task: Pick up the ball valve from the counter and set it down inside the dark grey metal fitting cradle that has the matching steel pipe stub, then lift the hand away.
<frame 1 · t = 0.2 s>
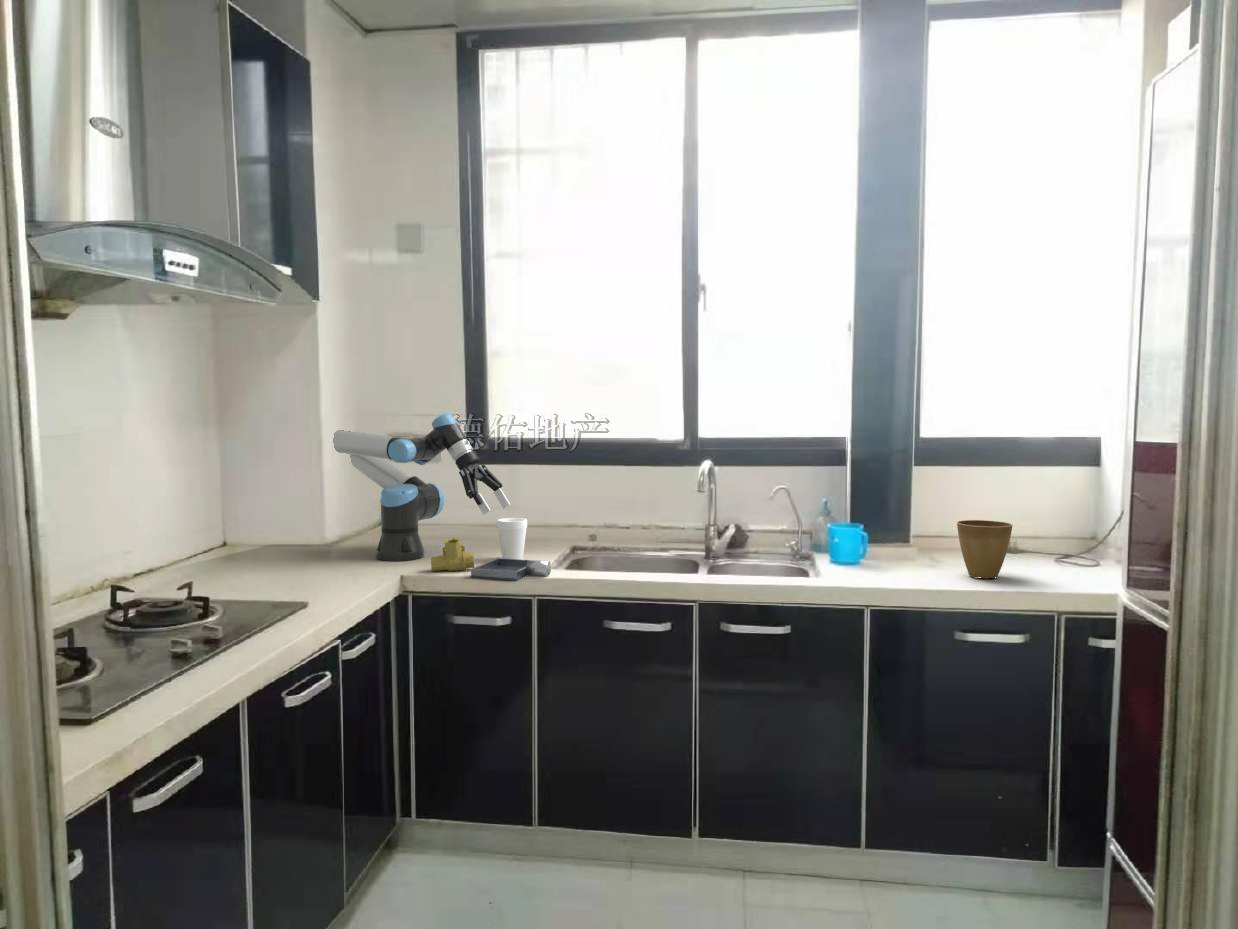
hand: (497, 509, 277), 15 cm above the worktop, tool tilted 35°, fingers open, 13 cm apart
ball valve: (453, 570, 255), on the worktop
foam cup: (512, 560, 270), on the worktop
plant pot: (982, 577, 245), on the worktop
fitting cradle: (506, 573, 249), on the worktop
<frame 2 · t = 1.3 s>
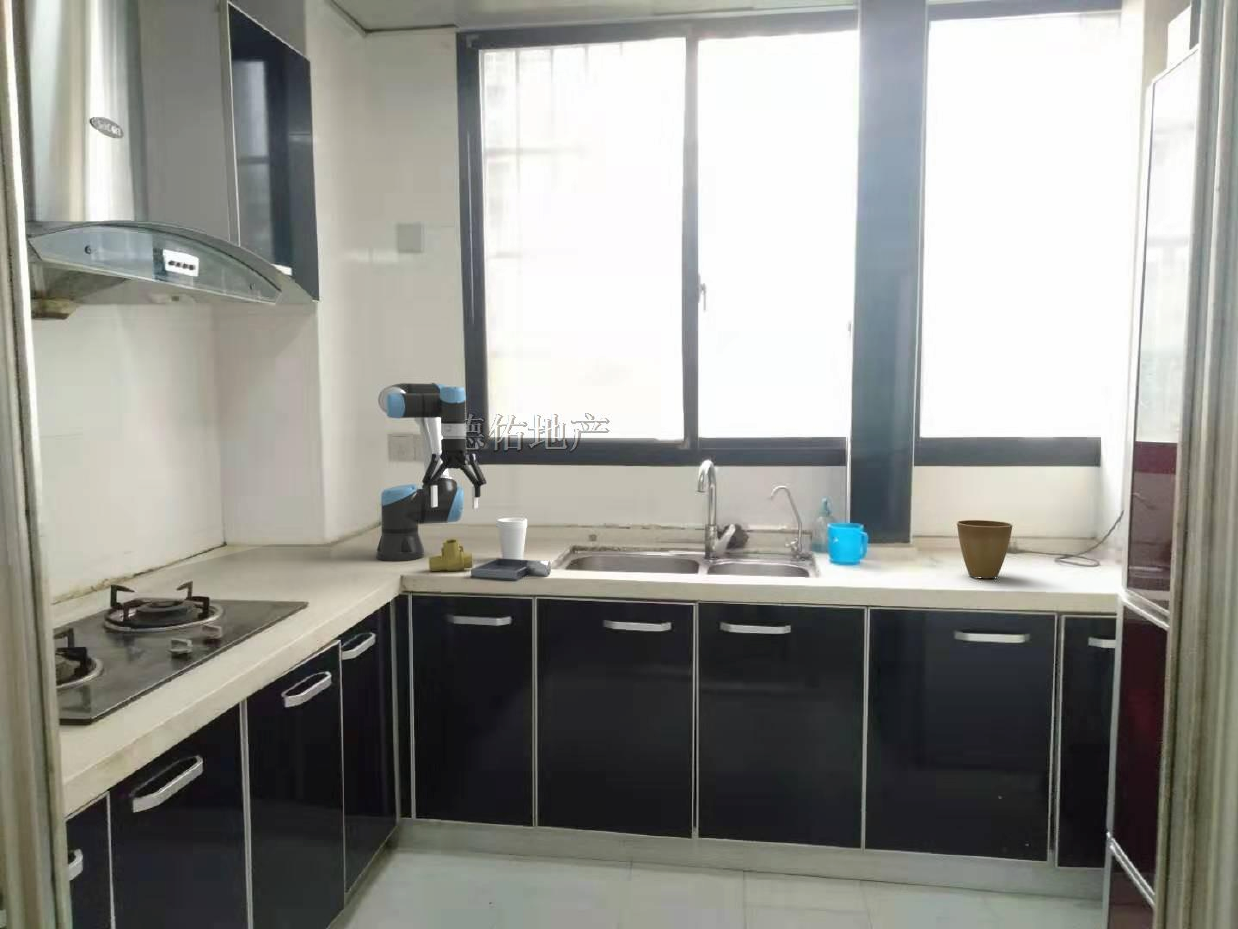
hand: (454, 507, 254), 19 cm above the worktop, tool pointing down, fingers open, 13 cm apart
nothing on the worktop moved.
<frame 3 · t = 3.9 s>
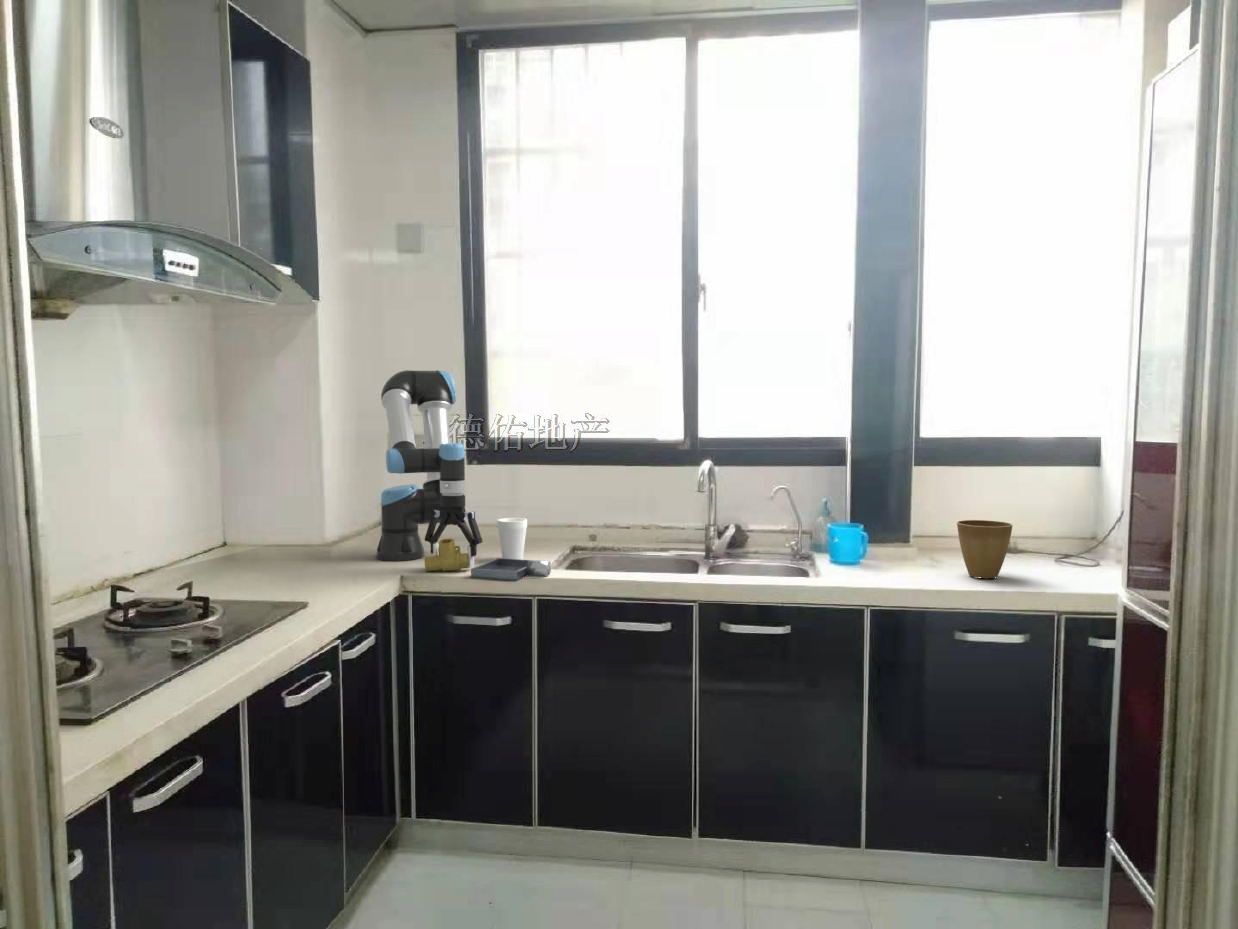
hand: (453, 565, 255), 1 cm above the worktop, tool pointing down, fingers closed on ball valve, 11 cm apart
ball valve: (447, 570, 254), on the worktop, touching gripper
everything else where it was.
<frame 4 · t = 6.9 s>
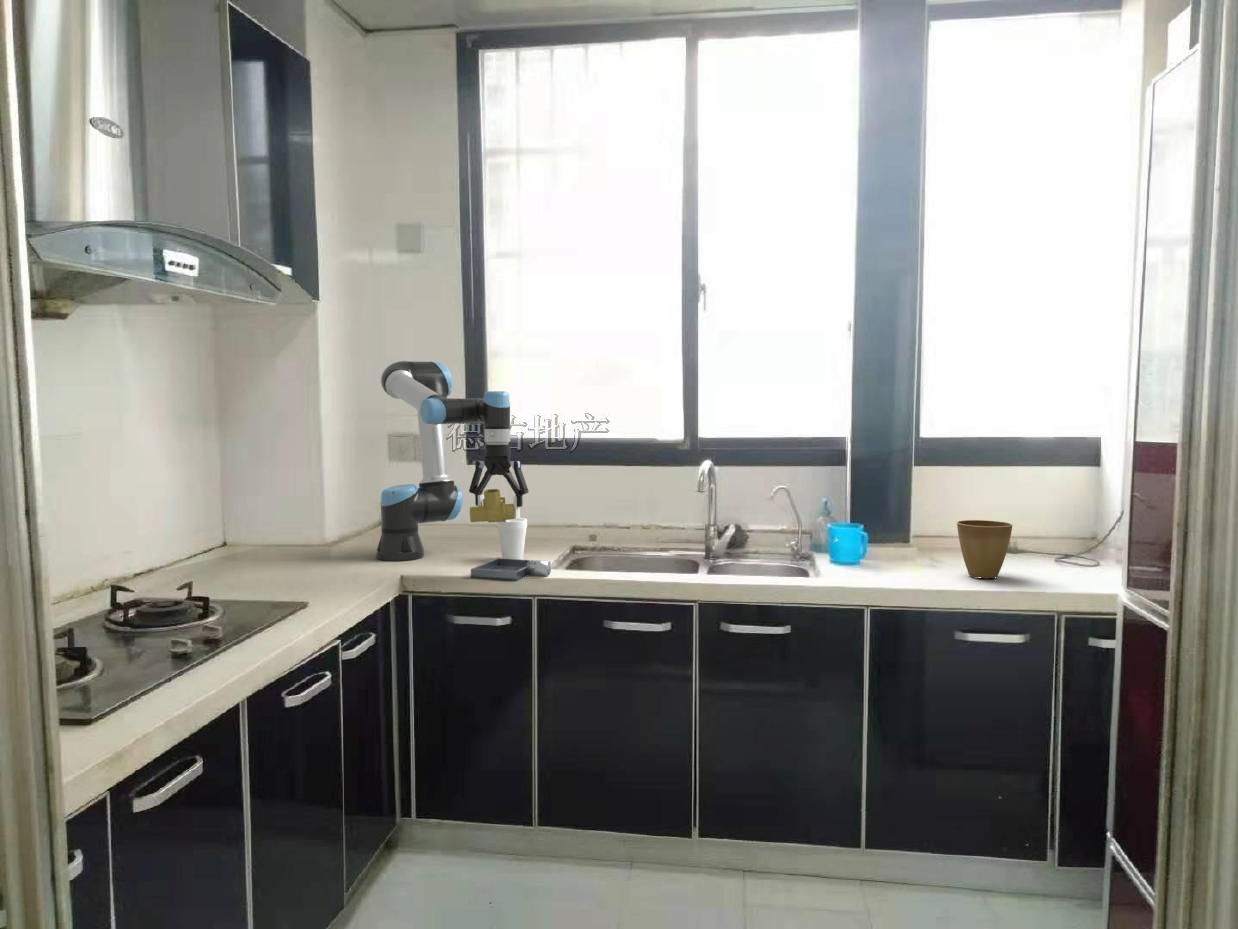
hand: (499, 517, 248), 17 cm above the worktop, tool pointing down, fingers closed on ball valve, 11 cm apart
ball valve: (492, 522, 247), point 15 cm above the worktop, touching gripper
everything else where it was.
when the fingers open (4 cm above the worktop, at t = 9.8 s): ball valve stays where it is, resting on fitting cradle.
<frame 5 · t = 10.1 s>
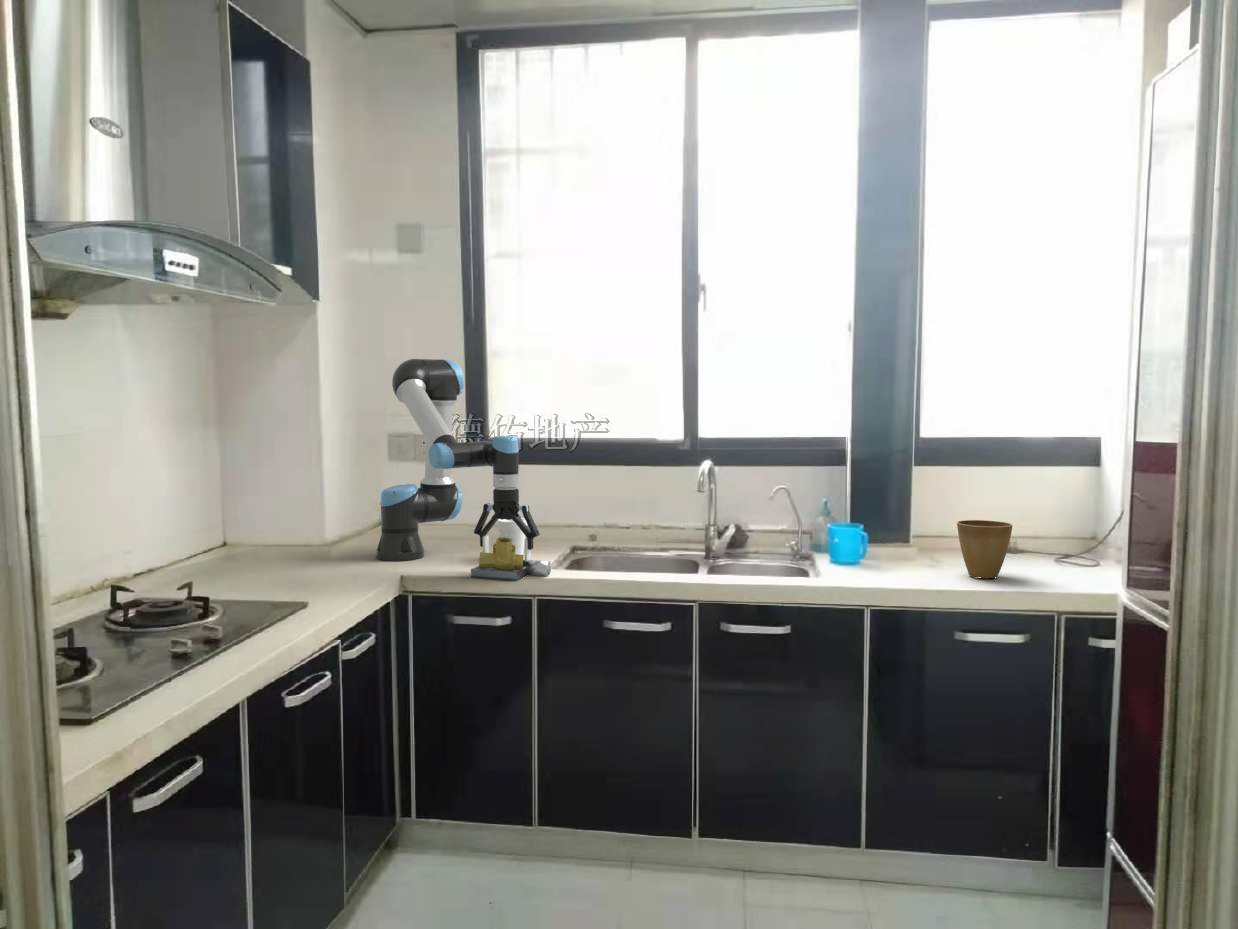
hand: (506, 559, 249), 4 cm above the worktop, tool pointing down, fingers open, 13 cm apart
ball valve: (500, 569, 248), point 1 cm above the worktop, touching fitting cradle
everything else where it was.
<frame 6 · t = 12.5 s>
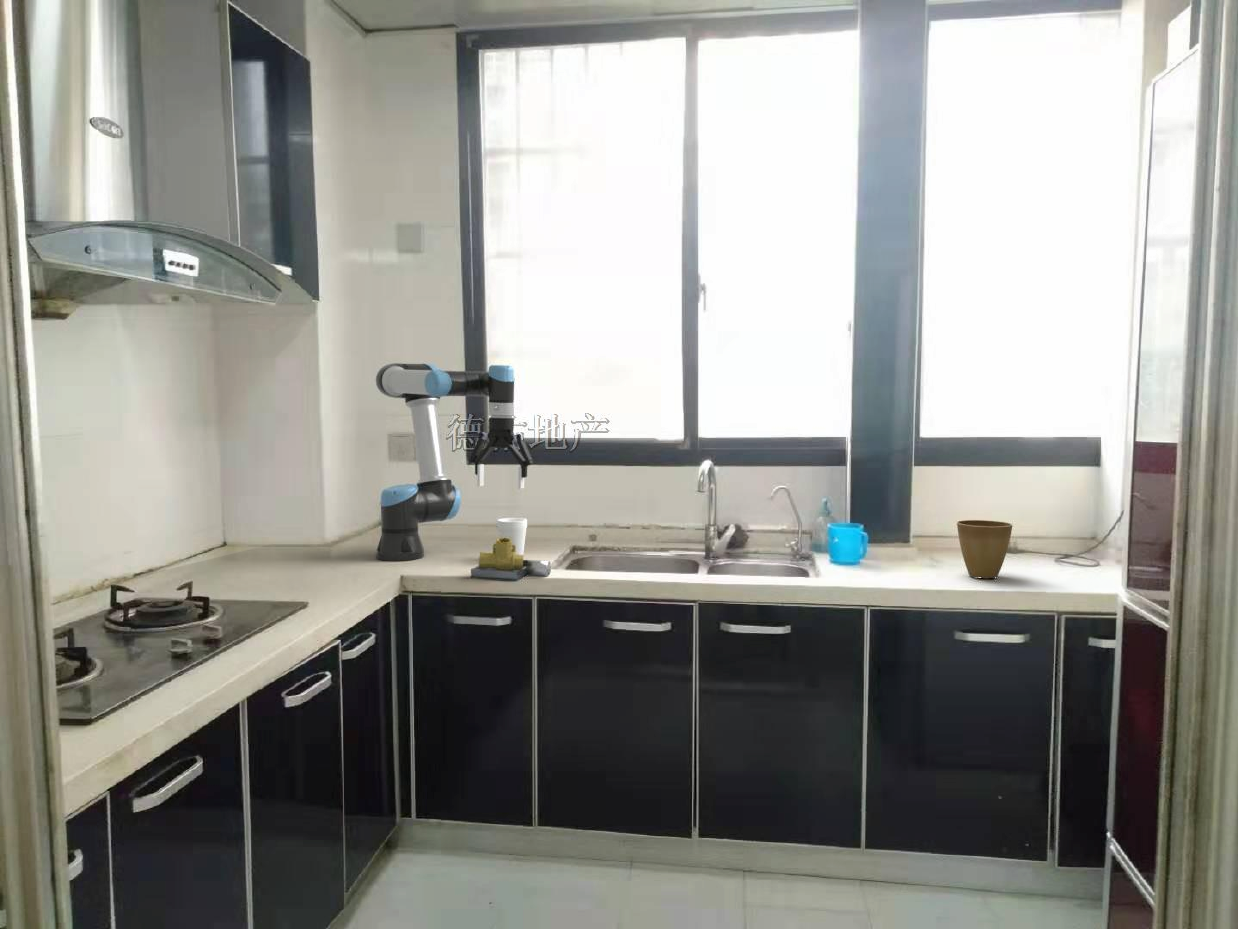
hand: (500, 487, 253), 25 cm above the worktop, tool pointing down, fingers open, 13 cm apart
nothing on the worktop moved.
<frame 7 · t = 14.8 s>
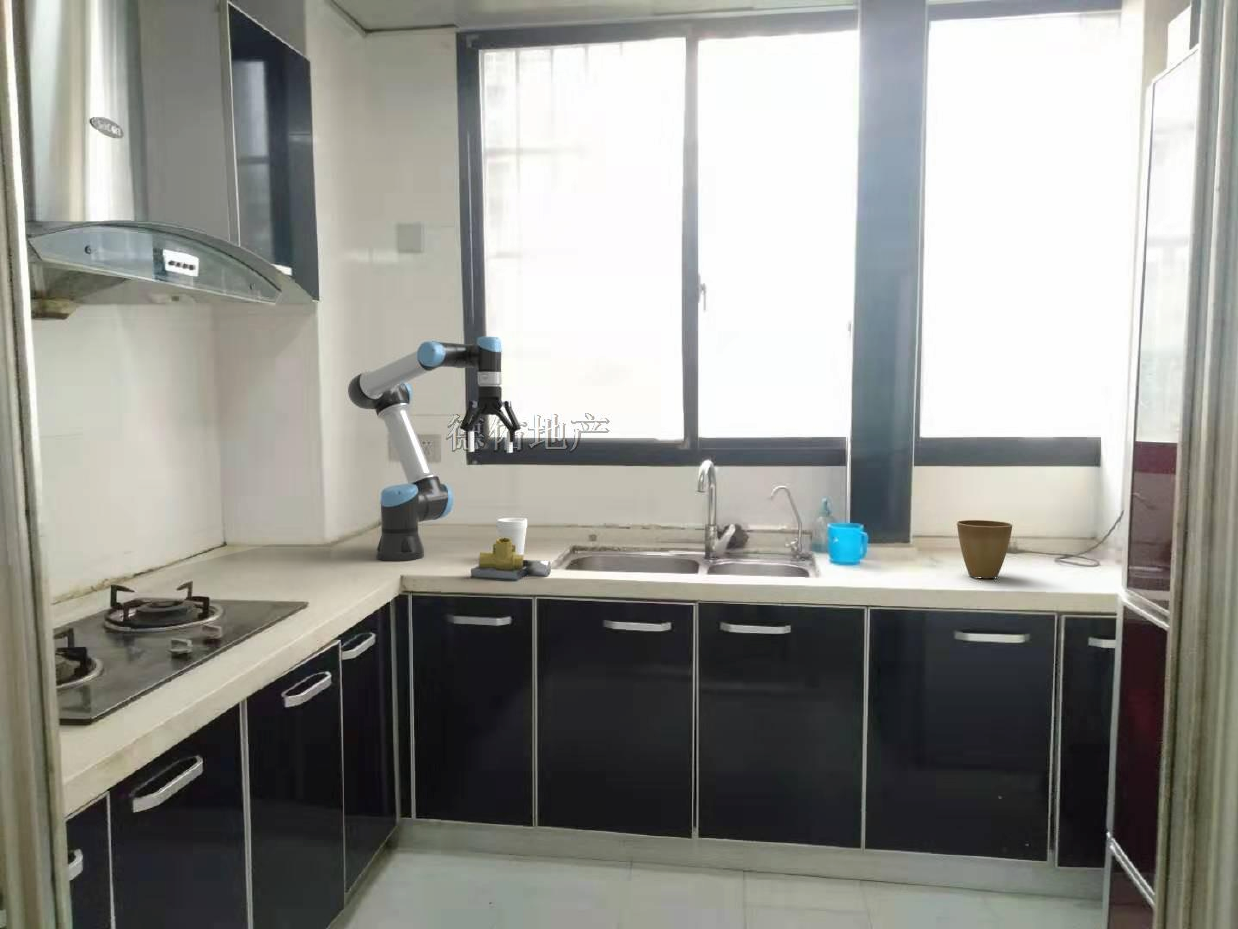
hand: (490, 452, 268), 35 cm above the worktop, tool pointing down, fingers open, 13 cm apart
nothing on the worktop moved.
at the end: ball valve 2.1 cm off-centre on the fitting cradle, point 1.5 cm above the fitting cradle's base; the gripper is holding nothing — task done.
